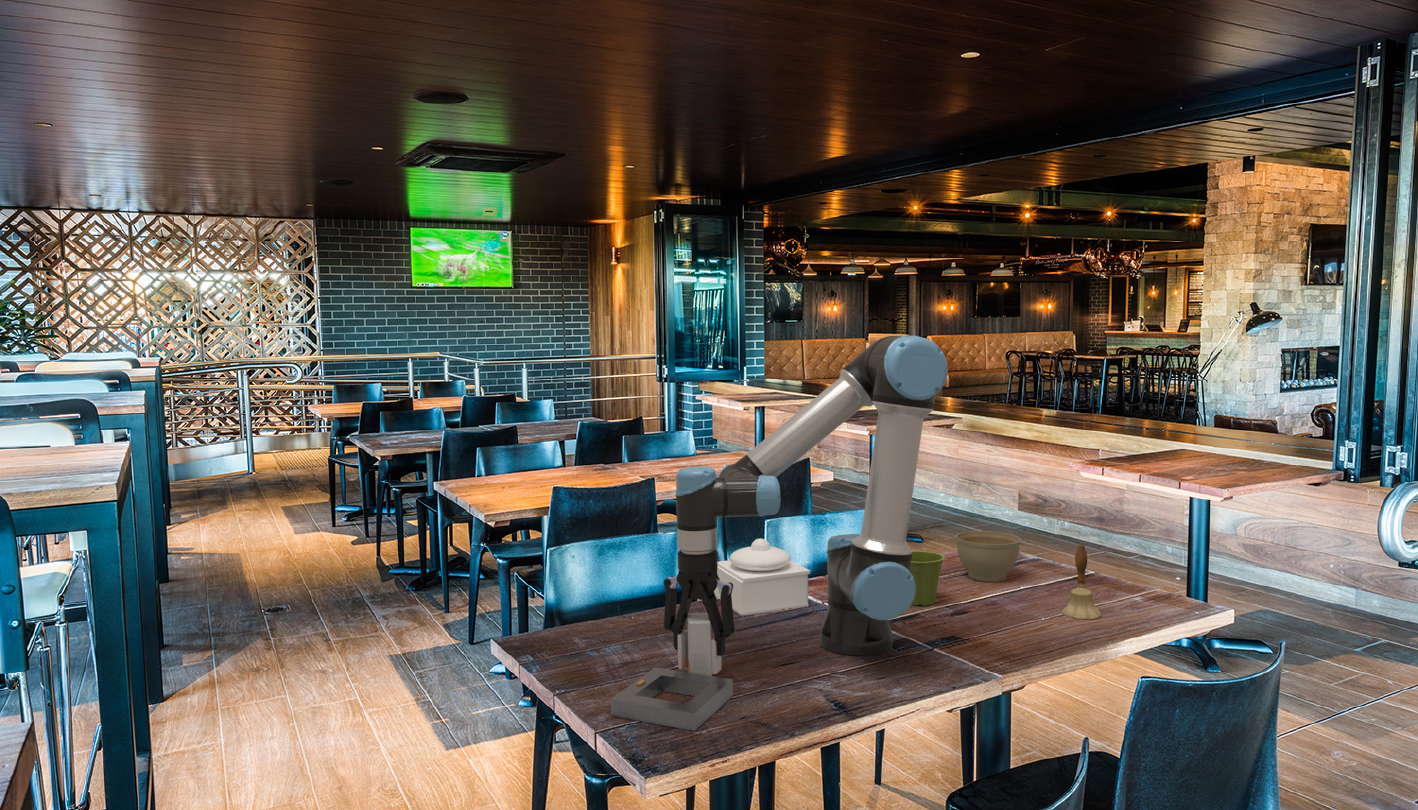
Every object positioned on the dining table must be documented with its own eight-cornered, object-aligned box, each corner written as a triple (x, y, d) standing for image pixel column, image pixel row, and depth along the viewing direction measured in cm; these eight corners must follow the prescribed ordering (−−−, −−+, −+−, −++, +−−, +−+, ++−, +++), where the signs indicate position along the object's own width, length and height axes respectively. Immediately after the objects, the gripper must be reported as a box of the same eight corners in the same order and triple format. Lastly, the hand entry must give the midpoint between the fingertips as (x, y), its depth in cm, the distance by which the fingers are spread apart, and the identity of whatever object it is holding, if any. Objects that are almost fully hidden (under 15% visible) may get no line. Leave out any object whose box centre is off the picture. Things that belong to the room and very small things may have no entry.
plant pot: (951, 599, 221) (951, 553, 221) (935, 612, 211) (935, 564, 211) (904, 592, 228) (904, 548, 227) (886, 605, 218) (886, 558, 217)
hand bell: (1061, 617, 206) (1062, 548, 205) (1062, 607, 213) (1063, 540, 212) (1101, 621, 203) (1102, 550, 201) (1100, 610, 210) (1101, 542, 209)
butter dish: (713, 596, 228) (712, 534, 227) (779, 588, 235) (778, 527, 233) (741, 616, 212) (740, 549, 210) (810, 606, 218) (809, 541, 217)
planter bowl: (1010, 589, 229) (1011, 546, 228) (947, 580, 238) (947, 539, 237) (1027, 574, 242) (1027, 534, 241) (966, 567, 251) (966, 528, 250)
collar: (733, 695, 165) (732, 677, 165) (694, 731, 151) (694, 711, 151) (655, 682, 172) (654, 665, 172) (611, 715, 158) (610, 697, 157)
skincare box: (687, 673, 176) (686, 612, 176) (709, 672, 177) (708, 611, 176) (689, 685, 170) (688, 622, 169) (712, 684, 171) (711, 621, 170)
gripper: (752, 549, 171) (754, 669, 173) (661, 541, 179) (663, 655, 181) (736, 558, 164) (738, 683, 166) (642, 549, 172) (645, 668, 174)
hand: (699, 668), depth 173 cm, fingers closed on skincare box, 6 cm apart
